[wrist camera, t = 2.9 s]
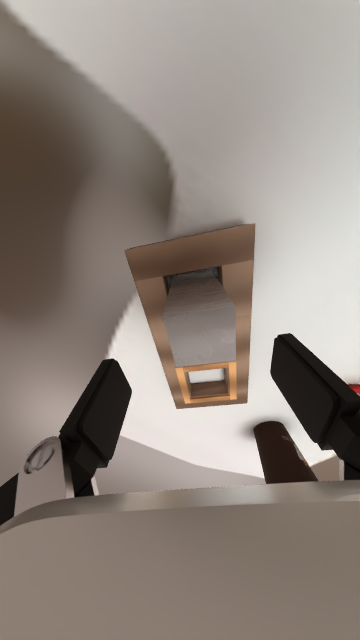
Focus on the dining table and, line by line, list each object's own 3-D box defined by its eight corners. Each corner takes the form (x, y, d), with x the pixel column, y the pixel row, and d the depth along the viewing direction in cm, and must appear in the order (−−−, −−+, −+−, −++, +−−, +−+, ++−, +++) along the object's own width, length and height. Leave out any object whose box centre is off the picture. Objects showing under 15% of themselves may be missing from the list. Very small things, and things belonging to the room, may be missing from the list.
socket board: (131, 247, 17) (123, 251, 15) (245, 224, 16) (256, 223, 13) (177, 395, 30) (176, 410, 28) (242, 389, 29) (247, 404, 26)
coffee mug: (246, 421, 34) (268, 488, 25) (290, 415, 32) (329, 484, 24) (251, 446, 39) (270, 507, 31) (288, 442, 38) (319, 505, 29)
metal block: (172, 275, 19) (162, 316, 10) (211, 268, 18) (235, 306, 10) (179, 309, 21) (176, 367, 12) (214, 304, 20) (235, 360, 12)
